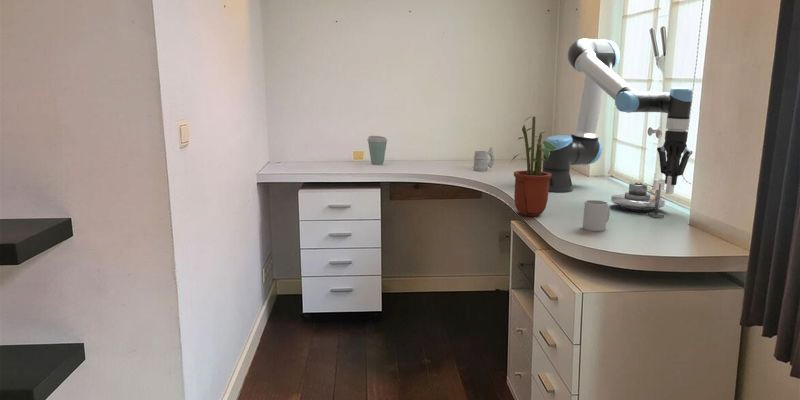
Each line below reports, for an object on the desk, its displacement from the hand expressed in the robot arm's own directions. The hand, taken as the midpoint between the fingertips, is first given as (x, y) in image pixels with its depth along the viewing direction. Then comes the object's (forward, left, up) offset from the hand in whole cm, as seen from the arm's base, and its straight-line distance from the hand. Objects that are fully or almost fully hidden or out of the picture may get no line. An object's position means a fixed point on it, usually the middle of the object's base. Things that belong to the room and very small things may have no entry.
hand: (669, 193), depth 229 cm
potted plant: (-55, 0, -7) cm, 56 cm away
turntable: (-10, +4, -4) cm, 12 cm away
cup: (-41, -24, -7) cm, 48 cm away
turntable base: (-10, +4, -7) cm, 13 cm away
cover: (-10, +4, -3) cm, 12 cm away
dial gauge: (-10, -8, -7) cm, 15 cm away
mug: (-40, +100, -7) cm, 108 cm away
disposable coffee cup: (-93, +123, -7) cm, 155 cm away
